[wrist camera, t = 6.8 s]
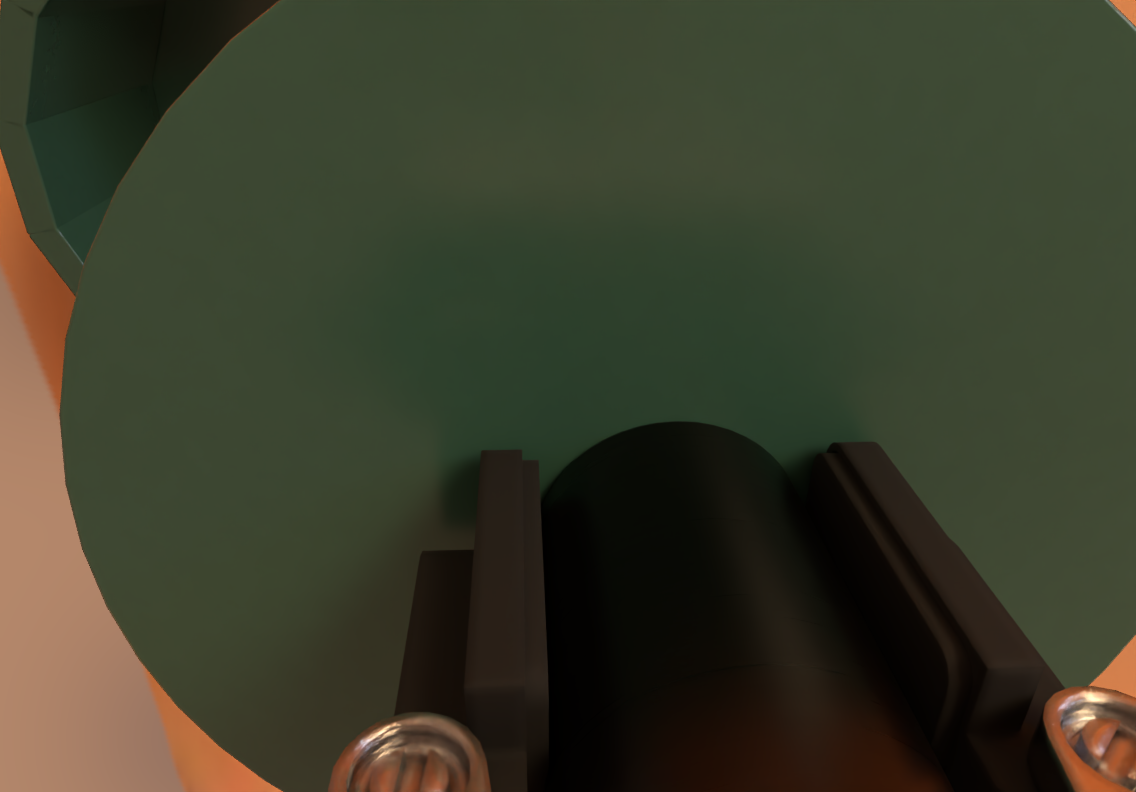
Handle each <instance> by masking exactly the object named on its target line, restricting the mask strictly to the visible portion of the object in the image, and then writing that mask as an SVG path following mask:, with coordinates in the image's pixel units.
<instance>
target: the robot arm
mask: <svg viewBox="0 0 1136 792" xmlns="http://www.w3.org/2000/svg"><path fill="white" fill-rule="evenodd" d="M805 508H806V510H807V512H808V514H809V516H810V518H811V520H812V522H813V524H814V526H815V527H816V529H817V531H818V533H819V535H820V537H821V539H822V541H823V543H824V545H825V546H826V548H827V550H828V552H829V554H830V556H831V558H832V560H833V562H834V564H835V565H836V567H837V569H838V571H839V573H840V575H841V577H842V579H843V581H844V583H845V584H846V586H847V588H848V590H849V592H850V594H851V596H852V598H853V600H854V602H855V603H856V605H857V607H858V609H859V611H860V613H861V615H862V617H863V619H864V621H865V622H866V624H867V626H868V628H869V630H870V632H871V634H872V636H873V638H874V639H875V641H876V643H877V645H878V647H879V649H880V651H881V653H882V655H883V657H884V658H885V660H886V662H887V664H888V666H889V668H890V670H891V672H892V674H893V676H894V677H895V679H896V681H897V683H898V685H899V687H900V689H901V691H902V693H903V695H904V696H905V698H906V700H907V702H908V704H909V706H910V708H911V710H912V712H913V714H914V715H915V717H916V719H917V721H918V723H919V725H920V727H921V729H922V731H923V733H924V734H925V736H926V738H927V740H928V742H929V744H930V746H931V748H932V750H933V752H934V753H935V755H936V757H937V759H938V761H939V763H940V765H941V767H942V769H943V771H944V772H945V774H946V776H947V778H948V780H949V782H950V784H951V786H952V788H953V789H954V791H955V792H1136V698H1135V697H1132V696H1129V695H1127V694H1124V693H1121V692H1119V691H1116V690H1110V689H1105V688H1100V687H1094V686H1081V687H1070V688H1067V689H1065V687H1064V686H1063V685H1062V683H1061V682H1060V681H1059V679H1058V678H1057V677H1056V675H1055V674H1054V673H1053V671H1052V670H1051V669H1050V667H1049V666H1048V665H1047V663H1046V662H1045V661H1044V659H1043V658H1042V657H1041V655H1040V654H1039V653H1038V651H1037V650H1036V649H1035V647H1034V646H1033V645H1032V643H1031V642H1030V641H1029V639H1028V638H1027V637H1026V635H1025V634H1024V633H1023V631H1022V630H1021V629H1020V627H1019V626H1018V625H1017V623H1016V622H1015V621H1014V619H1013V618H1012V617H1011V615H1010V614H1009V613H1008V611H1007V610H1006V609H1005V608H1004V606H1003V605H1002V604H1001V602H1000V601H999V600H998V598H997V597H996V596H995V594H994V593H993V592H992V590H991V589H990V588H989V586H988V585H987V584H986V582H985V581H984V580H983V578H982V577H981V576H980V574H979V573H978V572H977V570H976V569H975V568H974V566H973V565H972V564H971V562H970V561H969V560H968V558H967V557H966V556H965V554H964V553H963V552H962V550H961V549H960V548H959V546H958V545H957V544H956V543H955V542H953V541H952V540H951V539H950V538H949V537H948V536H947V534H946V533H945V532H944V530H943V529H942V528H941V526H940V525H939V524H938V522H937V521H936V520H935V518H934V517H933V516H932V514H931V513H930V512H929V510H928V509H927V508H926V506H925V505H924V504H923V502H922V501H921V500H920V498H919V497H918V496H917V494H916V493H915V492H914V490H913V489H912V488H911V486H910V485H909V484H908V482H907V481H906V480H905V478H904V477H903V476H902V474H901V473H900V471H899V470H898V469H897V467H896V466H895V465H894V463H893V462H892V461H891V459H890V458H889V457H888V455H887V454H886V453H885V451H884V450H883V449H882V447H881V446H880V445H879V444H878V443H877V442H833V443H832V444H830V446H829V448H828V449H827V453H819V454H817V455H816V457H815V459H814V462H813V467H812V473H811V478H810V484H809V490H808V495H807V501H806V507H805ZM548 771H549V695H548V660H547V637H546V615H545V592H544V570H543V547H542V525H541V502H540V480H539V460H522V449H517V450H482V451H481V459H480V472H479V486H478V500H477V514H476V528H475V542H474V549H472V550H437V551H422V553H421V555H420V560H419V565H418V571H417V577H416V583H415V590H414V596H413V602H412V608H411V614H410V620H409V627H408V633H407V639H406V645H405V651H404V657H403V664H402V670H401V676H400V682H399V688H398V695H397V701H396V707H395V713H394V716H393V717H389V718H386V719H383V720H381V721H379V722H378V723H376V724H374V725H372V726H371V727H369V728H367V729H365V730H363V731H362V732H361V733H360V734H359V735H358V736H357V737H356V738H355V739H354V740H353V741H351V742H350V743H349V744H348V745H347V746H346V747H345V749H344V750H343V752H342V754H341V755H340V757H339V759H338V760H337V762H336V764H335V765H334V767H333V771H332V775H331V780H330V784H329V789H328V792H544V791H545V781H546V778H547V775H548Z"/></svg>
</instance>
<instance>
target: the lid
mask: <svg viewBox="0 0 1136 792" xmlns="http://www.w3.org/2000/svg"><path fill="white" fill-rule="evenodd" d="M60 426H61V437H62V448H63V459H64V470H65V482H66V487H67V491H68V495H69V499H70V503H71V507H72V511H73V515H74V519H75V523H76V527H77V531H78V534H79V538H80V542H81V546H82V550H83V552H84V554H85V557H86V559H87V561H88V564H89V566H90V568H91V571H92V573H93V575H94V578H95V580H96V582H97V585H98V587H99V589H100V592H101V594H102V596H103V599H104V601H105V604H106V606H107V608H108V610H109V611H110V613H111V614H112V616H113V618H114V619H115V621H116V623H117V624H118V626H119V628H120V629H121V631H122V632H123V634H124V636H125V637H126V639H127V641H128V642H129V644H130V645H131V647H132V649H133V651H134V652H135V654H136V655H137V657H138V659H139V660H140V661H141V663H142V664H143V665H144V666H145V668H146V669H147V670H148V671H149V672H150V674H151V675H152V676H153V677H154V679H155V680H156V681H157V682H158V684H159V685H160V686H161V687H162V688H163V690H164V691H165V692H166V693H167V695H168V696H169V697H170V698H171V700H172V701H173V702H174V703H175V704H176V706H177V707H178V708H179V709H180V710H182V711H183V712H184V713H185V714H186V715H187V716H188V717H189V718H190V719H191V720H192V721H193V722H194V723H195V724H196V725H197V726H198V727H199V728H200V729H201V730H203V731H204V732H205V733H206V734H207V735H208V736H209V737H210V738H211V739H212V740H213V741H214V742H215V743H216V744H217V745H218V746H219V747H221V748H222V749H223V750H225V751H226V752H227V753H229V754H230V755H231V756H233V757H234V758H235V759H237V760H238V761H239V762H241V763H242V764H243V765H245V766H246V767H247V768H249V769H250V770H251V771H253V772H254V773H255V774H257V775H258V776H259V777H261V778H262V779H263V780H265V781H266V782H268V783H270V784H271V785H273V786H275V787H276V788H278V789H280V790H281V791H283V792H328V789H329V784H330V780H331V775H332V771H333V767H334V765H335V764H336V762H337V760H338V759H339V757H340V755H341V754H342V752H343V750H344V749H345V747H346V746H347V745H348V744H349V743H350V742H351V741H353V740H354V739H355V738H356V737H357V736H358V735H359V734H360V733H361V732H362V731H363V730H365V729H367V728H369V727H371V726H372V725H374V724H376V723H378V722H379V721H381V720H383V719H386V718H389V717H393V716H394V713H395V707H396V701H397V695H398V688H399V682H400V676H401V670H402V664H403V657H404V651H405V645H406V639H407V633H408V627H409V620H410V614H411V608H412V602H413V596H414V590H415V583H416V577H417V571H418V565H419V560H420V555H421V553H422V551H437V550H472V549H474V542H475V528H476V514H477V500H478V486H479V472H480V459H481V451H482V450H517V449H522V460H539V480H540V502H541V525H542V547H543V570H544V592H545V615H546V637H547V660H548V695H549V771H548V775H547V778H546V781H545V791H544V792H955V791H954V789H953V788H952V786H951V784H950V782H949V780H948V778H947V776H946V774H945V772H944V771H943V769H942V767H941V765H940V763H939V761H938V759H937V757H936V755H935V753H934V752H933V750H932V748H931V746H930V744H929V742H928V740H927V738H926V736H925V734H924V733H923V731H922V729H921V727H920V725H919V723H918V721H917V719H916V717H915V715H914V714H913V712H912V710H911V708H910V706H909V704H908V702H907V700H906V698H905V696H904V695H903V693H902V691H901V689H900V687H899V685H898V683H897V681H896V679H895V677H894V676H893V674H892V672H891V670H890V668H889V666H888V664H887V662H886V660H885V658H884V657H883V655H882V653H881V651H880V649H879V647H878V645H877V643H876V641H875V639H874V638H873V636H872V634H871V632H870V630H869V628H868V626H867V624H866V622H865V621H864V619H863V617H862V615H861V613H860V611H859V609H858V607H857V605H856V603H855V602H854V600H853V598H852V596H851V594H850V592H849V590H848V588H847V586H846V584H845V583H844V581H843V579H842V577H841V575H840V573H839V571H838V569H837V567H836V565H835V564H834V562H833V560H832V558H831V556H830V554H829V552H828V550H827V548H826V546H825V545H824V543H823V541H822V539H821V537H820V535H819V533H818V531H817V529H816V527H815V526H814V524H813V522H812V520H811V518H810V516H809V514H808V512H807V510H806V508H805V507H806V501H807V495H808V490H809V484H810V478H811V473H812V467H813V462H814V459H815V457H816V455H817V454H819V453H827V449H828V448H829V446H830V444H832V443H833V442H877V443H878V444H879V445H880V446H881V447H882V449H883V450H884V451H885V453H886V454H887V455H888V457H889V458H890V459H891V461H892V462H893V463H894V465H895V466H896V467H897V469H898V470H899V471H900V473H901V474H902V476H903V477H904V478H905V480H906V481H907V482H908V484H909V485H910V486H911V488H912V489H913V490H914V492H915V493H916V494H917V496H918V497H919V498H920V500H921V501H922V502H923V504H924V505H925V506H926V508H927V509H928V510H929V512H930V513H931V514H932V516H933V517H934V518H935V520H936V521H937V522H938V524H939V525H940V526H941V528H942V529H943V530H944V532H945V533H946V534H947V536H948V537H949V538H950V539H951V540H952V541H953V542H955V543H956V544H957V545H958V546H959V548H960V549H961V550H962V552H963V553H964V554H965V556H966V557H967V558H968V560H969V561H970V562H971V564H972V565H973V566H974V568H975V569H976V570H977V572H978V573H979V574H980V576H981V577H982V578H983V580H984V581H985V582H986V584H987V585H988V586H989V588H990V589H991V590H992V592H993V593H994V594H995V596H996V597H997V598H998V600H999V601H1000V602H1001V604H1002V605H1003V606H1004V608H1005V609H1006V610H1007V611H1008V613H1009V614H1010V615H1011V617H1012V618H1013V619H1014V621H1015V622H1016V623H1017V625H1018V626H1019V627H1020V629H1021V630H1022V631H1023V633H1024V634H1025V635H1026V637H1027V638H1028V639H1029V641H1030V642H1031V643H1032V645H1033V646H1034V647H1035V649H1036V650H1037V651H1038V653H1039V654H1040V655H1041V657H1042V658H1043V659H1044V661H1045V662H1046V663H1047V665H1048V666H1049V667H1050V669H1051V670H1052V671H1053V673H1054V674H1055V675H1056V677H1057V678H1058V679H1059V681H1060V682H1061V683H1062V685H1063V686H1064V687H1065V689H1067V688H1070V687H1081V686H1089V685H1090V684H1091V683H1092V682H1093V681H1094V680H1095V679H1096V678H1097V677H1098V676H1099V675H1100V674H1101V673H1103V672H1104V671H1105V669H1106V668H1107V667H1108V666H1109V665H1110V664H1111V663H1112V661H1113V660H1114V659H1115V658H1116V657H1117V656H1118V655H1119V653H1120V652H1121V651H1122V650H1123V649H1124V648H1125V646H1126V645H1127V644H1128V643H1129V642H1130V641H1131V640H1132V638H1133V637H1134V636H1135V635H1136V26H1135V25H1134V24H1133V23H1132V22H1131V21H1130V20H1129V19H1128V18H1127V17H1126V16H1125V15H1124V14H1123V13H1122V12H1121V11H1120V10H1119V9H1118V8H1117V7H1116V6H1115V5H1114V4H1113V3H1112V2H1111V1H1110V0H279V1H278V2H276V3H275V4H274V5H273V6H271V7H270V8H269V9H268V10H266V11H265V12H264V13H263V14H262V15H260V16H259V17H258V18H257V19H255V20H254V21H253V22H252V23H250V24H249V25H248V26H247V27H245V28H244V29H243V30H242V31H240V32H239V33H238V34H237V35H235V36H234V37H233V38H232V39H231V40H230V41H229V42H228V43H227V44H226V45H225V46H224V47H223V48H222V50H221V51H220V52H219V53H218V54H217V55H216V56H215V57H214V58H213V59H212V61H211V62H210V63H209V64H208V65H207V66H206V67H205V68H204V69H203V71H202V72H201V73H200V74H199V75H198V76H197V77H196V78H195V79H194V81H193V82H192V83H191V84H190V85H189V86H188V87H187V88H186V89H185V90H184V92H183V93H182V94H181V95H180V96H179V97H178V98H177V99H176V100H175V102H174V103H173V104H172V105H171V106H170V107H169V108H168V109H167V110H166V112H165V113H164V115H163V117H162V118H161V120H160V121H159V123H158V124H157V126H156V127H155V129H154V130H153V132H152V134H151V135H150V137H149V138H148V140H147V141H146V143H145V144H144V146H143V147H142V149H141V151H140V152H139V154H138V155H137V157H136V158H135V160H134V161H133V163H132V165H131V166H130V168H129V169H128V171H127V172H126V174H125V175H124V177H123V178H122V180H121V182H120V183H119V185H118V186H117V189H116V191H115V193H114V195H113V198H112V200H111V202H110V205H109V207H108V209H107V212H106V214H105V216H104V219H103V221H102V223H101V225H100V228H99V230H98V232H97V235H96V237H95V239H94V242H93V244H92V246H91V249H90V251H89V253H88V255H87V258H86V260H85V262H84V266H83V270H82V274H81V278H80V282H79V286H78V290H77V294H76V298H75V302H74V306H73V310H72V314H71V318H70V322H69V326H68V330H67V335H66V339H65V350H64V363H63V376H62V389H61V402H60Z"/></svg>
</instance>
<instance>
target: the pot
mask: <svg viewBox="0 0 1136 792" xmlns="http://www.w3.org/2000/svg"><path fill="white" fill-rule="evenodd" d="M278 1H279V0H1V9H0V149H1V152H2V155H3V158H4V161H5V165H6V168H7V171H8V174H9V177H10V180H11V183H12V186H13V189H14V192H15V196H16V199H17V202H18V205H19V208H20V211H21V214H22V217H23V220H24V224H25V227H26V230H27V233H28V234H30V238H31V239H32V240H33V242H34V243H35V244H36V245H37V247H38V248H39V249H40V251H41V252H42V253H43V255H44V256H45V257H46V259H47V260H48V261H49V262H50V264H51V265H52V266H53V268H54V269H55V270H56V272H57V273H58V274H59V275H60V277H61V278H62V279H63V281H64V282H65V283H66V285H67V286H68V287H69V289H70V290H71V291H72V292H73V294H74V295H75V296H76V294H77V290H78V286H79V282H80V278H81V274H82V270H83V266H84V262H85V260H86V258H87V255H88V253H89V251H90V249H91V246H92V244H93V242H94V239H95V237H96V235H97V232H98V230H99V228H100V225H101V223H102V221H103V219H104V216H105V214H106V212H107V209H108V207H109V205H110V202H111V200H112V198H113V195H114V193H115V191H116V189H117V186H118V185H119V183H120V182H121V180H122V178H123V177H124V175H125V174H126V172H127V171H128V169H129V168H130V166H131V165H132V163H133V161H134V160H135V158H136V157H137V155H138V154H139V152H140V151H141V149H142V147H143V146H144V144H145V143H146V141H147V140H148V138H149V137H150V135H151V134H152V132H153V130H154V129H155V127H156V126H157V124H158V123H159V121H160V120H161V118H162V117H163V115H164V113H165V112H166V110H167V109H168V108H169V107H170V106H171V105H172V104H173V103H174V102H175V100H176V99H177V98H178V97H179V96H180V95H181V94H182V93H183V92H184V90H185V89H186V88H187V87H188V86H189V85H190V84H191V83H192V82H193V81H194V79H195V78H196V77H197V76H198V75H199V74H200V73H201V72H202V71H203V69H204V68H205V67H206V66H207V65H208V64H209V63H210V62H211V61H212V59H213V58H214V57H215V56H216V55H217V54H218V53H219V52H220V51H221V50H222V48H223V47H224V46H225V45H226V44H227V43H228V42H229V41H230V40H231V39H232V38H233V37H234V36H235V35H237V34H238V33H239V32H240V31H242V30H243V29H244V28H245V27H247V26H248V25H249V24H250V23H252V22H253V21H254V20H255V19H257V18H258V17H259V16H260V15H262V14H263V13H264V12H265V11H266V10H268V9H269V8H270V7H271V6H273V5H274V4H275V3H276V2H278Z"/></svg>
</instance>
